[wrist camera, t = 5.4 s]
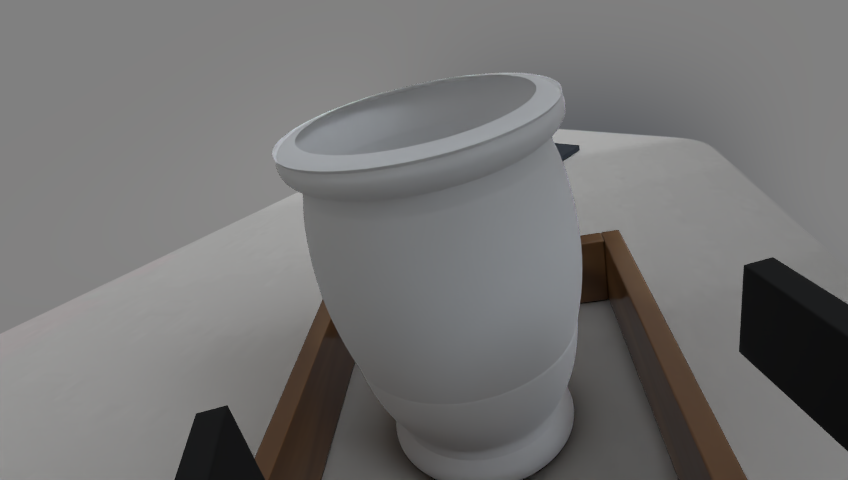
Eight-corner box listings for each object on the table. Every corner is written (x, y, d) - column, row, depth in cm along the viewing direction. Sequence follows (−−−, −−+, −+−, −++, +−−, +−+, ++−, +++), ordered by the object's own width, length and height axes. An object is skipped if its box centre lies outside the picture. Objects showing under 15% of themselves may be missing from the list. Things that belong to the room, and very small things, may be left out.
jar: (338, 424, 28) (226, 144, 21) (484, 321, 33) (431, 68, 26) (482, 571, 20) (375, 192, 13) (647, 405, 24) (631, 67, 18)
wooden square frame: (622, 287, 32) (618, 229, 31) (764, 610, 17) (773, 527, 15) (351, 324, 35) (333, 272, 34) (253, 628, 20) (209, 560, 18)
